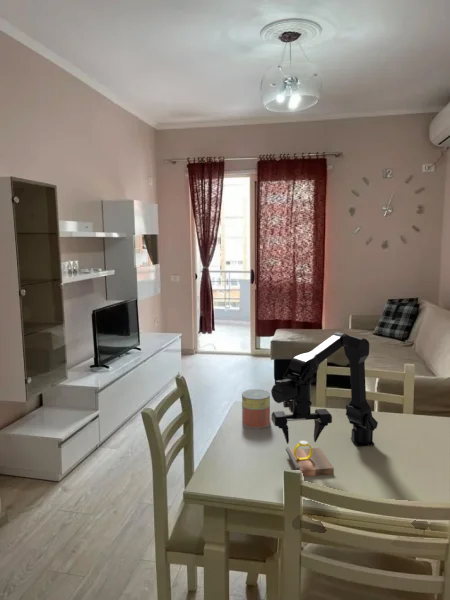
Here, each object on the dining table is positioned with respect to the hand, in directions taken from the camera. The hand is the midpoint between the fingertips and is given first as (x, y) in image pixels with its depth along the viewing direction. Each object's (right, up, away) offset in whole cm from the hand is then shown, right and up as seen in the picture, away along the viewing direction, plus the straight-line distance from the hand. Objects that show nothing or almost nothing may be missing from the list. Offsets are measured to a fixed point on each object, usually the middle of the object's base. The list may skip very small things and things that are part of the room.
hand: (301, 442), depth 149 cm
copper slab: (+3, -8, +2) cm, 8 cm away
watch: (+1, -6, +1) cm, 6 cm away
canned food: (-12, -3, +36) cm, 38 cm away
